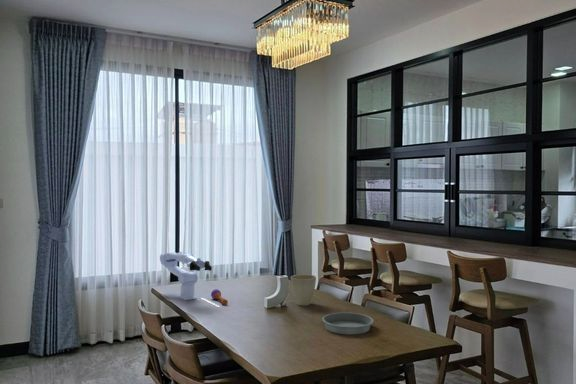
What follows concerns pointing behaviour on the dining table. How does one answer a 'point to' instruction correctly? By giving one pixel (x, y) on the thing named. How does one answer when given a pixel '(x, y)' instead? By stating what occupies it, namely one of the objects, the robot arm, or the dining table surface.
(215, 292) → the kendama
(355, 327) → the cake pan
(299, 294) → the plant pot
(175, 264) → the robot arm
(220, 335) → the dining table surface
